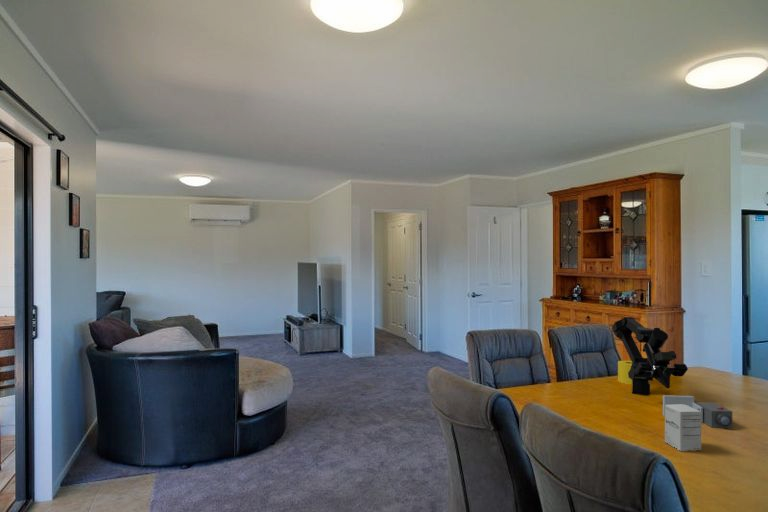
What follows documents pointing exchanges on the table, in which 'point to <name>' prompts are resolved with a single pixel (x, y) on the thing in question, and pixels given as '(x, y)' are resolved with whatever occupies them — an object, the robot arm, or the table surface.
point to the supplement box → (683, 427)
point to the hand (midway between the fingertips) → (668, 387)
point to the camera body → (716, 415)
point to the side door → (681, 402)
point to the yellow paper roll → (624, 371)
